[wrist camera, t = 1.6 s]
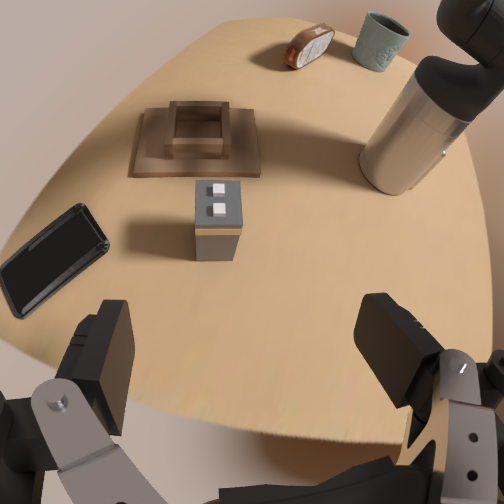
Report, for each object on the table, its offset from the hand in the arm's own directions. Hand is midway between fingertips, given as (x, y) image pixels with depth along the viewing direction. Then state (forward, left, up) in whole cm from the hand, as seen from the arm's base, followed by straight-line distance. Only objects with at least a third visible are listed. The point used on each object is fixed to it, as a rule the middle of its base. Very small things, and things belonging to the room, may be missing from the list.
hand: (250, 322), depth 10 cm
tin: (-18, -51, -23) cm, 59 cm away
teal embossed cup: (-35, -57, -23) cm, 71 cm away
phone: (+20, -10, -23) cm, 32 cm away
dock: (+2, -27, -23) cm, 36 cm away
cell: (0, -12, -23) cm, 26 cm away
